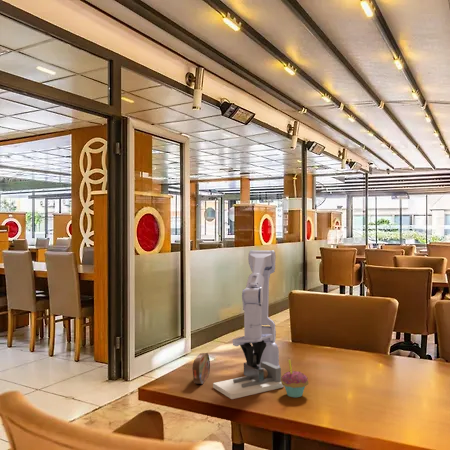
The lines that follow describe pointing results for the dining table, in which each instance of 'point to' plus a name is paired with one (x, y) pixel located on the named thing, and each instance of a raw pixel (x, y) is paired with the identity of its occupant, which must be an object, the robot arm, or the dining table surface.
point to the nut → (265, 373)
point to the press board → (251, 383)
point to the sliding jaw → (254, 370)
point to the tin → (201, 368)
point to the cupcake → (294, 382)
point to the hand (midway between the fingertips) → (253, 364)
